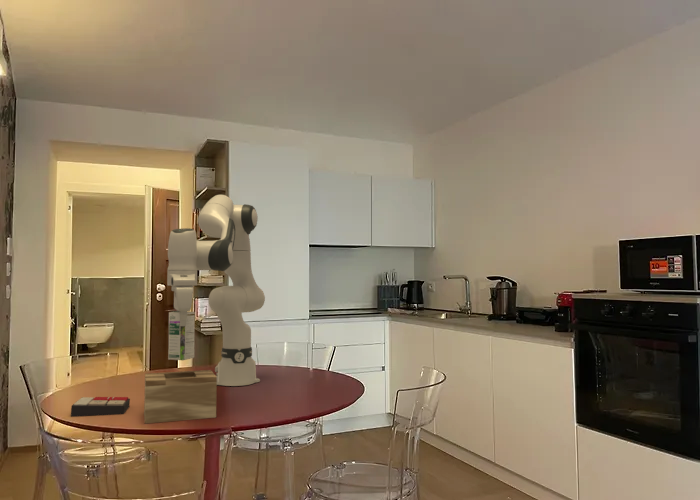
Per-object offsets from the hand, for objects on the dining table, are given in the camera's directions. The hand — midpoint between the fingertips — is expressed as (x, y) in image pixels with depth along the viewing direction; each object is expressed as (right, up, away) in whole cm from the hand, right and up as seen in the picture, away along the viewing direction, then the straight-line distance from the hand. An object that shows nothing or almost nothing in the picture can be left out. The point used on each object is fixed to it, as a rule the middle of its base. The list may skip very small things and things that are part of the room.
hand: (181, 325), depth 167 cm
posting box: (0, -27, -2) cm, 27 cm away
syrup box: (0, -11, -1) cm, 11 cm away
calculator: (-26, -28, +3) cm, 38 cm away
